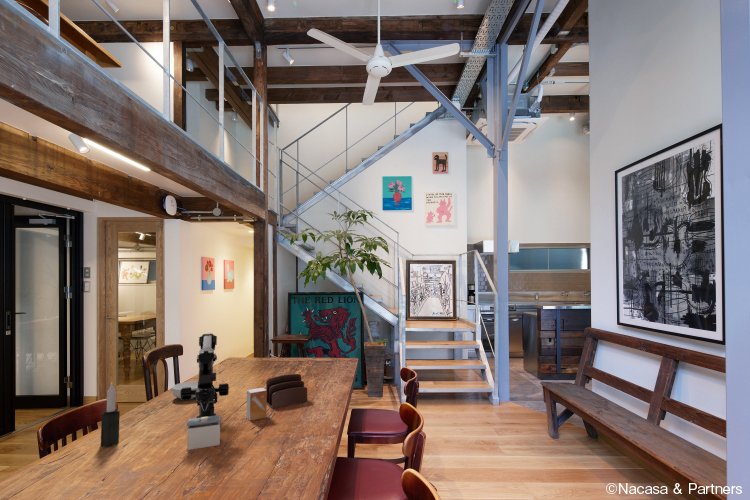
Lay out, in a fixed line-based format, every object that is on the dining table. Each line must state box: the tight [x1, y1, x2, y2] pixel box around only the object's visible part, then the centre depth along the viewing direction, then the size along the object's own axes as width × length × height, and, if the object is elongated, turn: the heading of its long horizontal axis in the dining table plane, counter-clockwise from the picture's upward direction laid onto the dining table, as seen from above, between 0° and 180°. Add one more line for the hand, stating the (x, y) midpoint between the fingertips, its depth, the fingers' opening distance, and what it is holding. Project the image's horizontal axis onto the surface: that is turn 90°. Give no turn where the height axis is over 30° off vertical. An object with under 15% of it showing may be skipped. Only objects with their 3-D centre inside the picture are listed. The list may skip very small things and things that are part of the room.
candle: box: [100, 381, 121, 448], centre depth 162 cm, size 5×5×25 cm
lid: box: [186, 414, 222, 427], centre depth 161 cm, size 9×12×1 cm
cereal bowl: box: [171, 381, 198, 400], centre depth 223 cm, size 17×17×7 cm
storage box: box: [186, 422, 221, 451], centre depth 161 cm, size 8×12×8 cm, turn 112°
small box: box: [246, 387, 268, 421], centre depth 190 cm, size 8×6×13 cm
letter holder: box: [265, 373, 308, 410], centre depth 212 cm, size 10×20×14 cm, turn 123°
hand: (204, 410), depth 161 cm, fingers closed
